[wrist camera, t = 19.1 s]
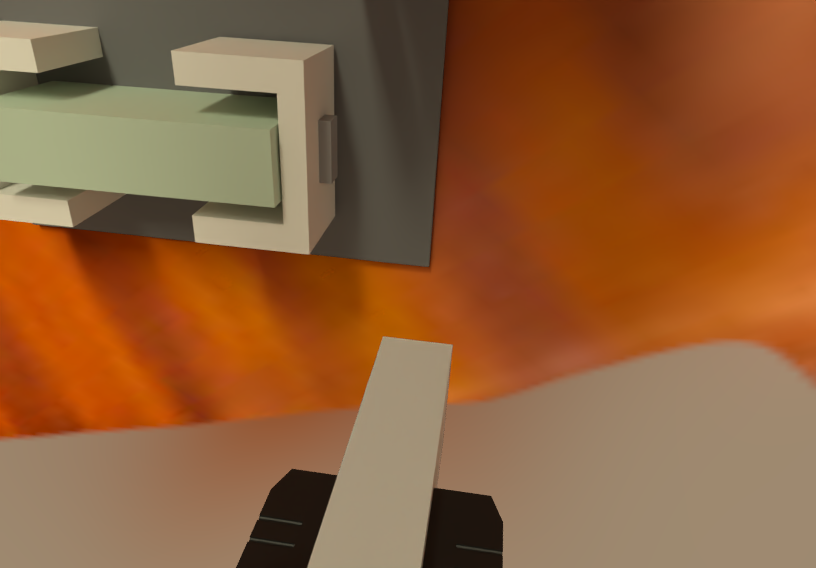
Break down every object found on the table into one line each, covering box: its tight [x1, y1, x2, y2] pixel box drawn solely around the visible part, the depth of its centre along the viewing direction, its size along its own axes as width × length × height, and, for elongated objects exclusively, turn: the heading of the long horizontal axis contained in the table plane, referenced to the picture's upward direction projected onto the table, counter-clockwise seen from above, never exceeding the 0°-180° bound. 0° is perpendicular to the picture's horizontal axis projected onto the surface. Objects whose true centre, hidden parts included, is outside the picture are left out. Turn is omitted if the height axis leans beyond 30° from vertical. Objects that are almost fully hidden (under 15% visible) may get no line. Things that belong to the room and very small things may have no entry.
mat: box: [0, 0, 449, 267], centre depth 33 cm, size 14×24×1 cm, turn 87°
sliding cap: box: [171, 37, 338, 255], centre depth 30 cm, size 9×6×5 cm
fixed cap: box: [0, 21, 126, 227], centre depth 31 cm, size 9×5×5 cm, turn 177°
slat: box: [0, 81, 282, 208], centre depth 30 cm, size 4×14×6 cm, turn 87°
